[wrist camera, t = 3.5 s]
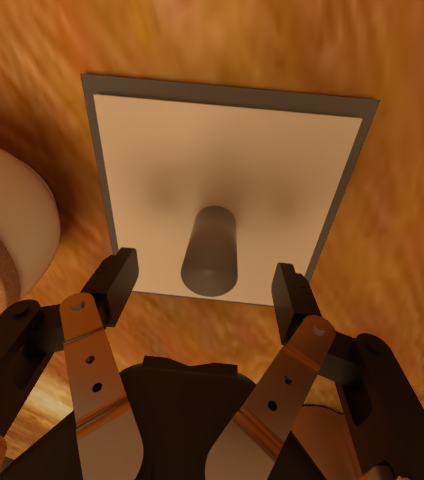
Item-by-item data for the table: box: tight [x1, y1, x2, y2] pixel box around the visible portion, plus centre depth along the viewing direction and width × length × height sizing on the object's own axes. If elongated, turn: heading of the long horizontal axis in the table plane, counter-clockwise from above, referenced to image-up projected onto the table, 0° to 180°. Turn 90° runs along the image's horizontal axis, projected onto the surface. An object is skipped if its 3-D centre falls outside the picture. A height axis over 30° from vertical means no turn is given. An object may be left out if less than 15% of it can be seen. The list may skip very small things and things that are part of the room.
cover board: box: [93, 94, 362, 306], centre depth 16 cm, size 16×16×7 cm
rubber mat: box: [81, 74, 380, 307], centre depth 19 cm, size 18×18×1 cm
